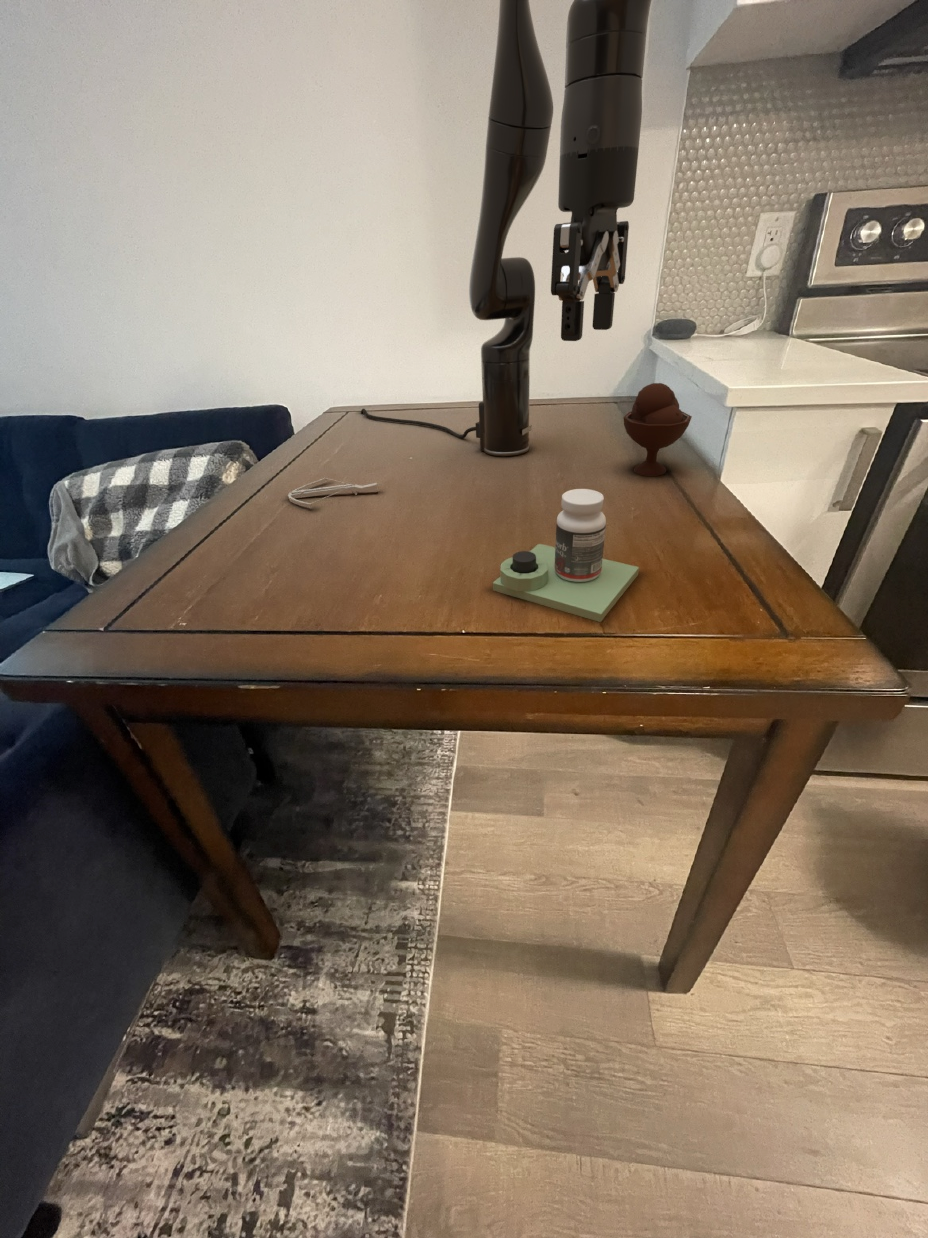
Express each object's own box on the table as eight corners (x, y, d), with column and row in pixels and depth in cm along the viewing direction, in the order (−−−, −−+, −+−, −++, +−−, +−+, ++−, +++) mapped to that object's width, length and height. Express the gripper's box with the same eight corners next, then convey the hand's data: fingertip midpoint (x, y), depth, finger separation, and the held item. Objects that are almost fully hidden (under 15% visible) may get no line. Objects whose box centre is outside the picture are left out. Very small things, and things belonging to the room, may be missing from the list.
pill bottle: (549, 563, 69) (552, 488, 64) (593, 559, 70) (600, 484, 64) (560, 586, 65) (563, 507, 59) (607, 581, 65) (615, 503, 59)
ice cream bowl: (686, 481, 93) (702, 388, 84) (618, 480, 95) (628, 389, 86) (679, 461, 101) (693, 374, 93) (617, 460, 103) (625, 376, 95)
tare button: (508, 571, 65) (508, 558, 64) (519, 561, 67) (519, 548, 66) (528, 577, 64) (529, 563, 63) (539, 566, 66) (540, 554, 65)
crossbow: (281, 516, 92) (278, 505, 91) (299, 489, 103) (296, 478, 102) (374, 505, 91) (371, 493, 90) (382, 478, 102) (380, 468, 101)
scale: (491, 592, 67) (490, 570, 65) (538, 551, 75) (539, 531, 73) (599, 624, 60) (601, 601, 58) (638, 575, 68) (641, 553, 66)
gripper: (592, 159, 59) (582, 326, 69) (529, 148, 50) (528, 343, 59) (660, 148, 56) (641, 326, 65) (607, 135, 46) (592, 345, 55)
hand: (587, 334), depth 62 cm, fingers open, 8 cm apart
